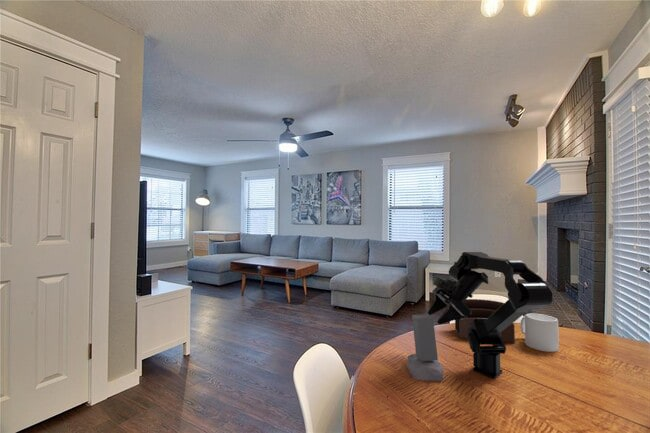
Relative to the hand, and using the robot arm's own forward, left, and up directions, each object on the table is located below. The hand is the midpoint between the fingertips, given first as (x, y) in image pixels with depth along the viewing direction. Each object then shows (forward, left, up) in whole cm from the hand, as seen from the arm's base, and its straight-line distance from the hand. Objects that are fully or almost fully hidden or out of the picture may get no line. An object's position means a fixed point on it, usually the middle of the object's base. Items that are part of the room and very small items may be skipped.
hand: (433, 318), depth 98 cm
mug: (-19, -42, -14) cm, 49 cm away
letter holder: (-2, -35, -14) cm, 38 cm away
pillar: (-3, +9, -10) cm, 13 cm away
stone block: (-2, +9, -14) cm, 17 cm away
